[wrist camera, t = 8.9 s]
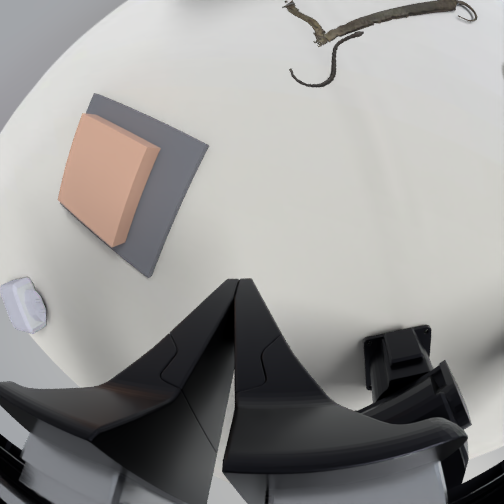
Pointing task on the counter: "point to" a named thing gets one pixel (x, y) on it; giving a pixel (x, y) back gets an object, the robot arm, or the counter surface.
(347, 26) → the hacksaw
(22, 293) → the charger
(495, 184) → the counter surface
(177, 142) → the mat
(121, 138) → the tile
